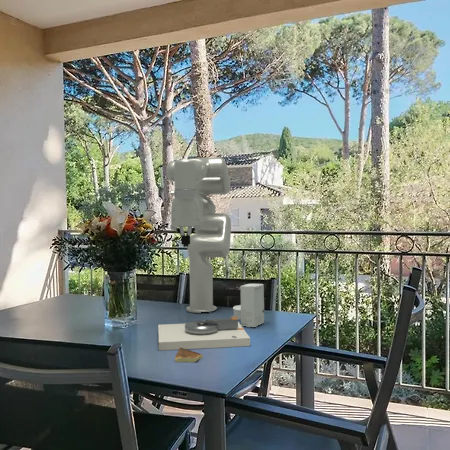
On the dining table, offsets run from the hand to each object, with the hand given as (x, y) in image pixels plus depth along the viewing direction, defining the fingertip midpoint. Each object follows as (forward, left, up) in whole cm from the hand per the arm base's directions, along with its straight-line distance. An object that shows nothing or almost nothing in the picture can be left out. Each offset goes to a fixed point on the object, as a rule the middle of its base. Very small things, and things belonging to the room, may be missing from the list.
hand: (185, 246), depth 173 cm
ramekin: (-11, +23, -29) cm, 39 cm away
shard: (+34, -3, -30) cm, 45 cm away
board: (+15, +4, -29) cm, 33 cm away
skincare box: (0, +24, -29) cm, 38 cm away
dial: (+15, +7, -26) cm, 31 cm away
